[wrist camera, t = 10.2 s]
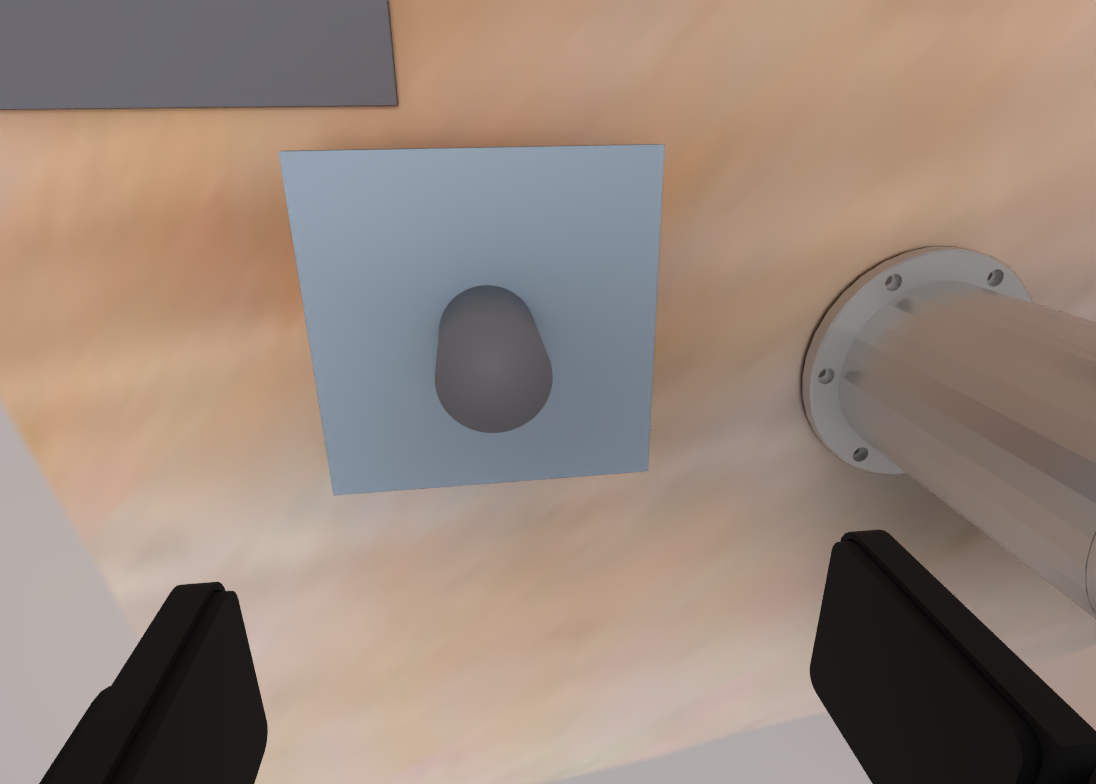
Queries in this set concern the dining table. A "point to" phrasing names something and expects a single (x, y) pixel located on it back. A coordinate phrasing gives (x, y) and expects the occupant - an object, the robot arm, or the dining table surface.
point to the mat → (195, 54)
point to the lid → (479, 309)
